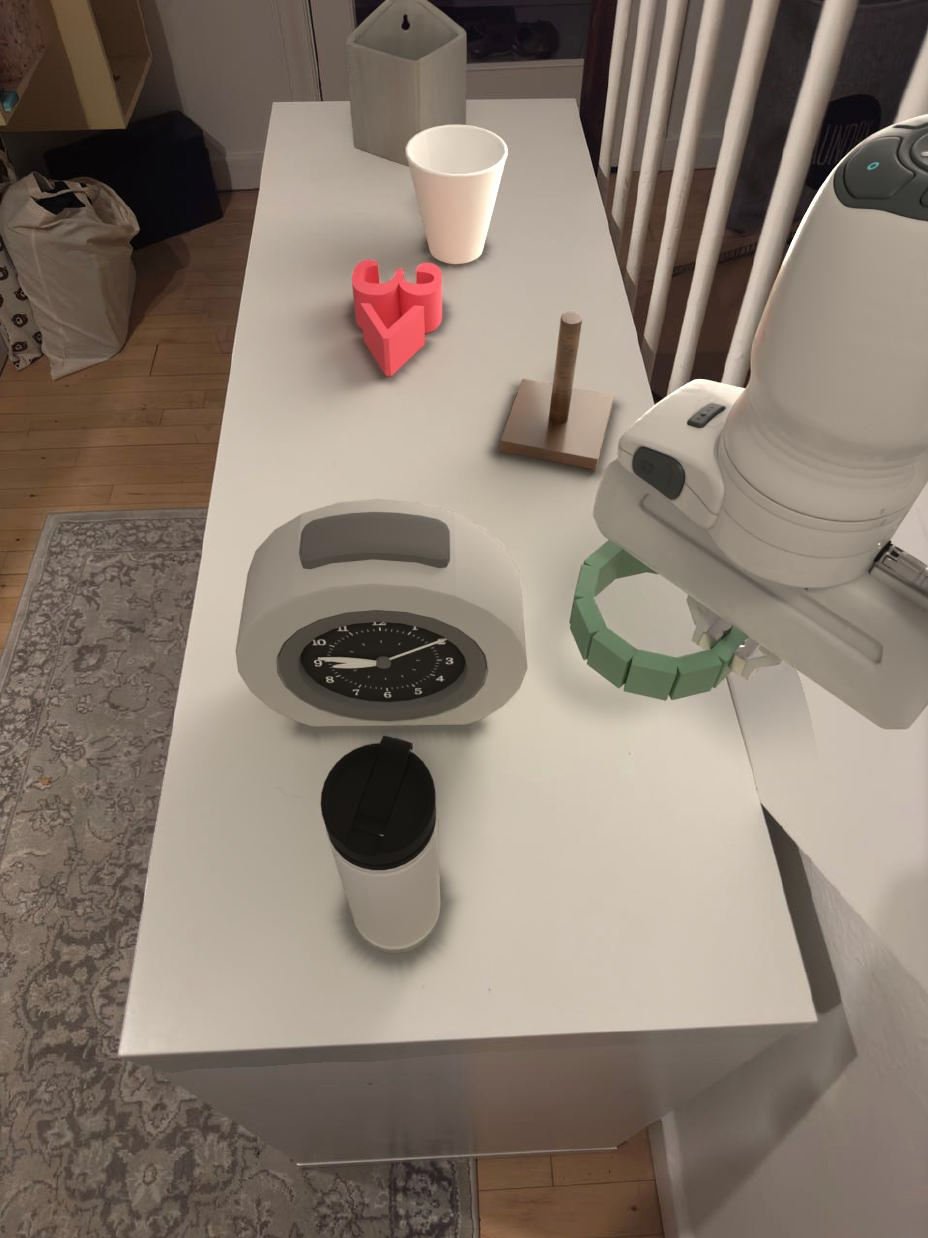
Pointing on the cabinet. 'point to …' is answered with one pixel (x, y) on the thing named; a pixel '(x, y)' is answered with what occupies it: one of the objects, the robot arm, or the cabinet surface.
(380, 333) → the letters
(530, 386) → the stand
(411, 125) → the planter
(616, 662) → the ring
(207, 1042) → the cabinet surface
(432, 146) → the cup
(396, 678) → the alarm clock
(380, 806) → the travel mug
